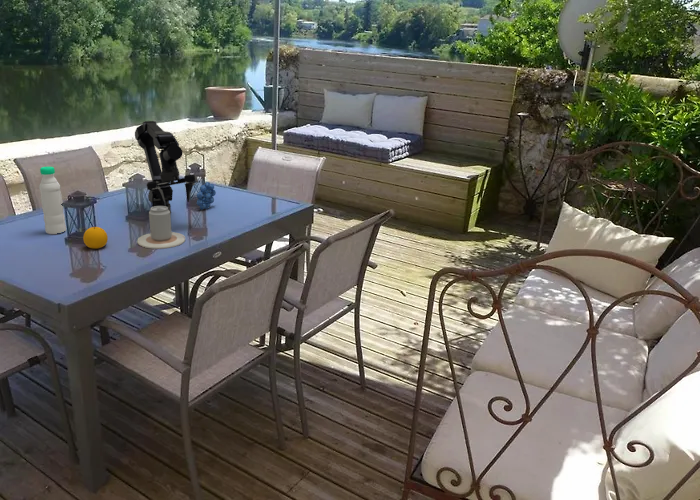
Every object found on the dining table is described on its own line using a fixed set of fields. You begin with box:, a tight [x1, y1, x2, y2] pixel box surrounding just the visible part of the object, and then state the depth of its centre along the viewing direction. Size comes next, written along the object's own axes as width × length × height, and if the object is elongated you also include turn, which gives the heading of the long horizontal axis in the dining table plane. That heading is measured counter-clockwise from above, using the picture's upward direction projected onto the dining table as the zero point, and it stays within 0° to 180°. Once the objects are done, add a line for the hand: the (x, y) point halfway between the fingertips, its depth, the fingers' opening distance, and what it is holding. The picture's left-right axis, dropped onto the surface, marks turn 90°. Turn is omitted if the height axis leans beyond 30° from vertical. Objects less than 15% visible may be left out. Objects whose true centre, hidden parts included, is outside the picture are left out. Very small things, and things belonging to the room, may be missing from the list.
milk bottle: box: [38, 166, 67, 235], centre depth 213 cm, size 7×7×25 cm
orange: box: [82, 226, 109, 250], centre depth 203 cm, size 8×8×8 cm
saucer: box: [136, 231, 186, 250], centre depth 213 cm, size 17×17×1 cm
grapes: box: [196, 181, 217, 211], centre depth 253 cm, size 12×7×12 cm, turn 152°
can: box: [148, 206, 173, 241], centre depth 211 cm, size 8×8×12 cm
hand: (176, 204), depth 224 cm, fingers open, 9 cm apart
